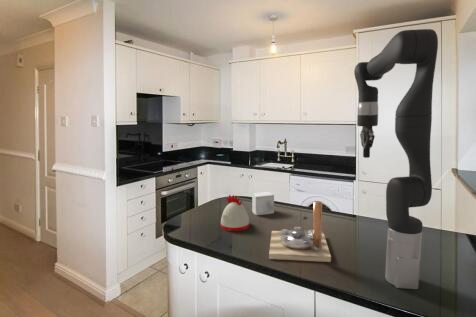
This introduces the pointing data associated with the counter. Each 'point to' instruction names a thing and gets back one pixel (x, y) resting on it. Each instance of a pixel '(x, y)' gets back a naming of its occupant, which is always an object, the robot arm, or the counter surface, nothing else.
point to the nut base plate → (297, 251)
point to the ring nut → (305, 233)
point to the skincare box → (263, 203)
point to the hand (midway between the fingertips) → (366, 157)
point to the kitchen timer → (234, 216)
